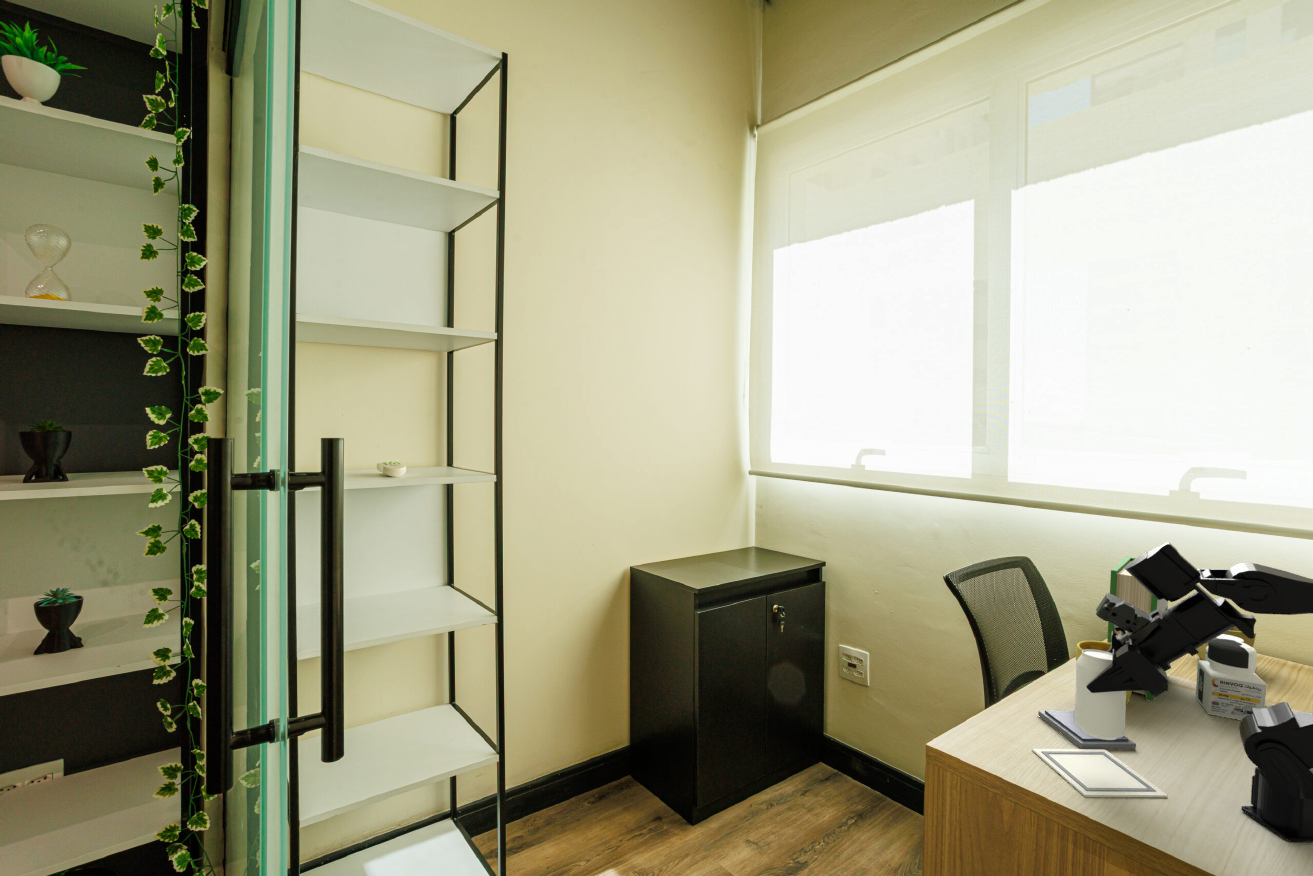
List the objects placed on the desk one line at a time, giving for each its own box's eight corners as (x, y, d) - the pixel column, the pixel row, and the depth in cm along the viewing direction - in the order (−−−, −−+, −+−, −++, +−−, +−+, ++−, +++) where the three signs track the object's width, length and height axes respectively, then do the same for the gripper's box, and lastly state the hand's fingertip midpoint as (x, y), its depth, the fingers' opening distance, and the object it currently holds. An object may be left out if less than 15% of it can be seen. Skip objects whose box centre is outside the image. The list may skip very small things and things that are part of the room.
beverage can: (1116, 729, 96) (1118, 651, 96) (1131, 746, 90) (1133, 664, 90) (1069, 721, 98) (1072, 645, 98) (1080, 737, 92) (1082, 657, 92)
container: (1207, 715, 113) (1212, 645, 113) (1195, 698, 120) (1198, 632, 119) (1264, 725, 110) (1268, 653, 109) (1247, 707, 116) (1252, 640, 116)
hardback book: (1151, 701, 118) (1158, 577, 117) (1104, 688, 124) (1110, 570, 123) (1163, 674, 131) (1170, 562, 130) (1120, 664, 136) (1126, 556, 135)
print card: (1167, 797, 88) (1167, 794, 88) (1084, 797, 88) (1085, 794, 88) (1104, 751, 100) (1104, 748, 100) (1031, 750, 100) (1032, 748, 100)
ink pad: (1135, 749, 101) (1136, 741, 101) (1081, 749, 100) (1081, 741, 100) (1087, 716, 112) (1087, 708, 112) (1038, 716, 111) (1038, 708, 111)
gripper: (1133, 568, 99) (1050, 622, 106) (1139, 595, 84) (1041, 656, 91) (1196, 627, 95) (1105, 679, 101) (1215, 666, 79) (1106, 725, 86)
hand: (1089, 682), depth 95 cm, fingers closed on beverage can, 6 cm apart
